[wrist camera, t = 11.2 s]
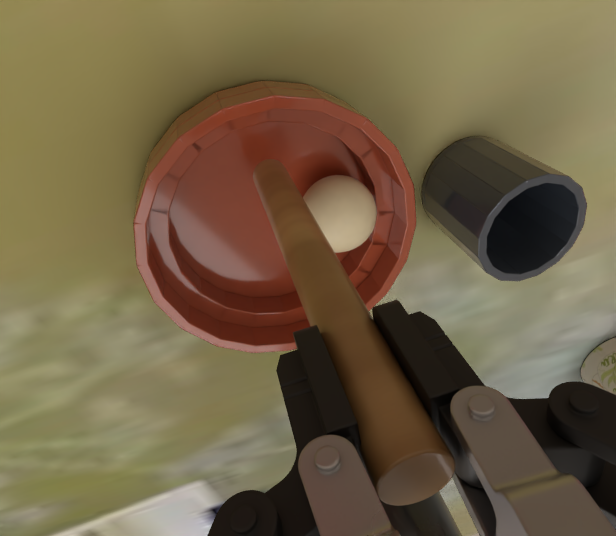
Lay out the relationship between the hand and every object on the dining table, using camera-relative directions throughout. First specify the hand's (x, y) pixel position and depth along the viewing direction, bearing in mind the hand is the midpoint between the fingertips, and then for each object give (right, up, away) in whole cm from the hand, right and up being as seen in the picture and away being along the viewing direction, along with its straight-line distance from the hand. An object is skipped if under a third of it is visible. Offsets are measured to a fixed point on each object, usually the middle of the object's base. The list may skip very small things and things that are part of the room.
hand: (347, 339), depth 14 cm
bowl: (-3, +6, +15) cm, 16 cm away
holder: (+9, +8, +18) cm, 21 cm away
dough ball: (0, +6, +15) cm, 16 cm away
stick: (-3, +7, +11) cm, 13 cm away
